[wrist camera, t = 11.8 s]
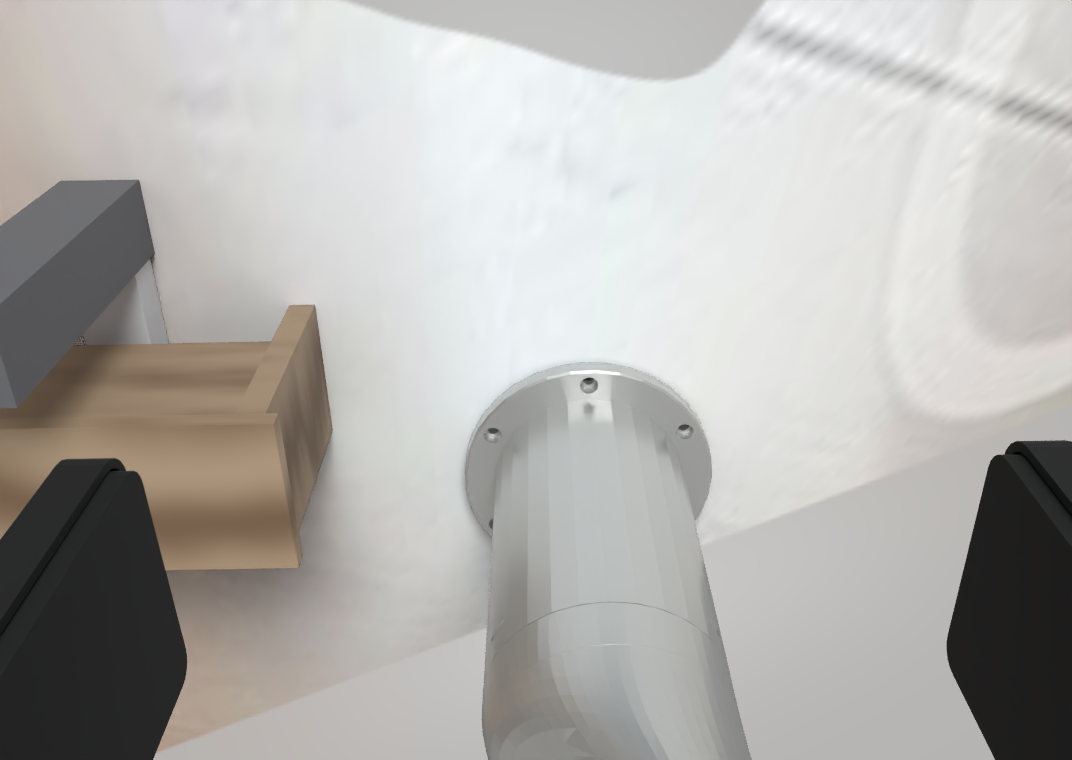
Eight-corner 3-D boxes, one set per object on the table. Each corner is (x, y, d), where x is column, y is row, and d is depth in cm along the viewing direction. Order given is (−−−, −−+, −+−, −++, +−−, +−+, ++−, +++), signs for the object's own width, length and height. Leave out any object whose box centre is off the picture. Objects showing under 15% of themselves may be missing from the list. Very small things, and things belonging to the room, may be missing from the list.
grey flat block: (187, 407, 50) (75, 594, 38) (118, 408, 50) (-17, 595, 38) (138, 179, 44) (-12, 314, 32) (60, 181, 44) (-120, 316, 32)
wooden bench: (342, 430, 51) (298, 568, 41) (-146, 439, 51) (-301, 578, 41) (325, 304, 47) (273, 424, 38) (-198, 315, 47) (-380, 436, 38)
